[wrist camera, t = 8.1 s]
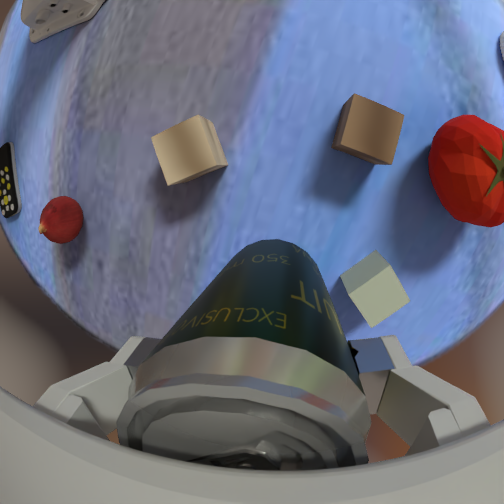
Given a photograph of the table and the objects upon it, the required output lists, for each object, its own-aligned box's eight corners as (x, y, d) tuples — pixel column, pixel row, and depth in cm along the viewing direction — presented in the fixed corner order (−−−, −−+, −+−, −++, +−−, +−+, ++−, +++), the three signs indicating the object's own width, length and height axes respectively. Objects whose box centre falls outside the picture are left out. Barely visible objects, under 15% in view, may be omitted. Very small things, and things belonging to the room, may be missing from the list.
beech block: (186, 182, 29) (167, 185, 24) (171, 141, 28) (150, 137, 23) (228, 165, 28) (216, 165, 23) (212, 122, 27) (198, 114, 22)
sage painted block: (361, 305, 31) (371, 328, 26) (339, 275, 30) (348, 294, 25) (394, 281, 29) (410, 300, 25) (375, 249, 29) (390, 264, 24)
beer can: (256, 340, 16) (209, 524, 5) (208, 266, 16) (65, 401, 4) (336, 301, 15) (403, 485, 4) (291, 218, 15) (306, 304, 3)
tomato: (497, 177, 23) (550, 187, 14) (449, 236, 27) (500, 266, 17) (447, 100, 22) (500, 84, 12) (393, 158, 25) (441, 158, 16)
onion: (60, 208, 32) (20, 221, 24) (81, 183, 30) (39, 192, 23) (79, 242, 33) (40, 261, 25) (101, 219, 31) (60, 235, 24)
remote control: (15, 139, 30) (7, 139, 28) (24, 209, 33) (16, 212, 31) (-1, 152, 31) (-8, 153, 29) (9, 218, 34) (1, 220, 32)
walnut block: (331, 147, 26) (340, 144, 21) (343, 105, 25) (354, 93, 20) (374, 164, 26) (391, 164, 21) (386, 122, 24) (404, 115, 20)
